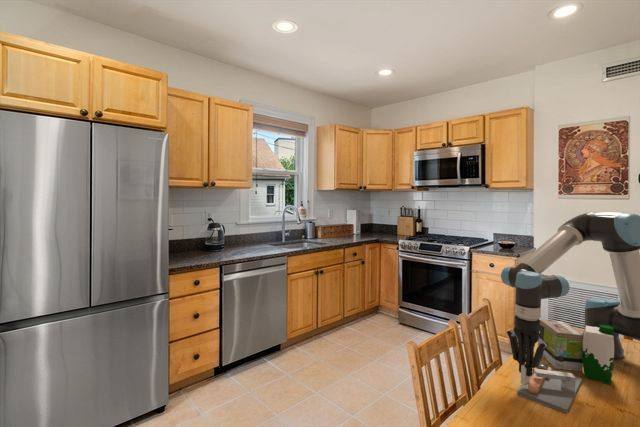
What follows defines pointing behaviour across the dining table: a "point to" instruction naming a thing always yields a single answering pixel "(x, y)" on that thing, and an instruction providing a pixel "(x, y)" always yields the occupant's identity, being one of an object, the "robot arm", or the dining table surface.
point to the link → (536, 382)
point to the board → (552, 394)
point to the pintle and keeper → (557, 377)
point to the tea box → (562, 345)
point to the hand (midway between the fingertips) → (525, 383)
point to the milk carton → (598, 353)
